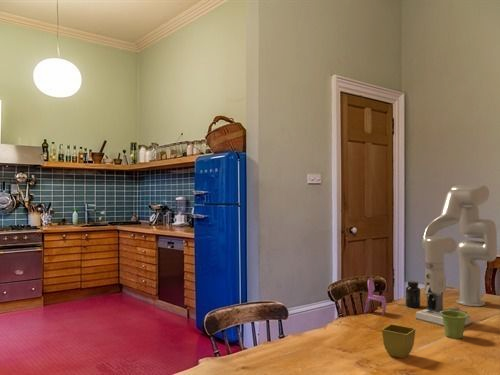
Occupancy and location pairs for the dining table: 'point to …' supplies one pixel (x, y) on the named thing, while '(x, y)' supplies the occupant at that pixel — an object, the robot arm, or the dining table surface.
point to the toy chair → (374, 297)
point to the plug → (437, 303)
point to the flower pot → (398, 340)
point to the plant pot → (454, 323)
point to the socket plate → (435, 317)
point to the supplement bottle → (413, 295)
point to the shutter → (455, 310)
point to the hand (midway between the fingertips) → (434, 307)
